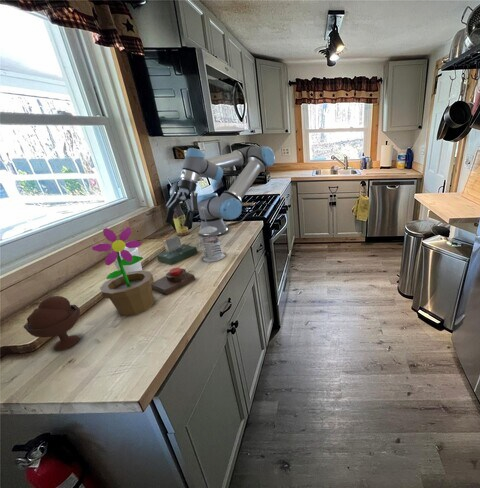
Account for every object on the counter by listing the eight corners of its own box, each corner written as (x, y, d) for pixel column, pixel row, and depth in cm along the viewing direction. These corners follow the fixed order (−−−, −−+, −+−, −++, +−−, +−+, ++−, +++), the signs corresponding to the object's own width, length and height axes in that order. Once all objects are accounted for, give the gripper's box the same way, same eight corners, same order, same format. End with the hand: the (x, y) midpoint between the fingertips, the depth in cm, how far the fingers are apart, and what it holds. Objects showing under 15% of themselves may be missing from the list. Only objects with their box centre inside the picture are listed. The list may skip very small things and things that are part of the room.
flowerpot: (124, 325, 81) (86, 236, 69) (103, 312, 87) (64, 228, 75) (169, 300, 92) (142, 220, 80) (146, 290, 99) (119, 215, 87)
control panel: (184, 249, 134) (182, 243, 133) (198, 252, 129) (196, 247, 128) (157, 260, 123) (155, 254, 121) (171, 264, 118) (169, 258, 117)
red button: (177, 270, 105) (176, 266, 105) (184, 272, 103) (182, 268, 103) (168, 274, 102) (167, 271, 101) (174, 277, 100) (173, 273, 100)
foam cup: (152, 275, 109) (143, 247, 104) (131, 286, 101) (120, 257, 96) (136, 272, 112) (126, 245, 107) (115, 283, 104) (103, 254, 99)
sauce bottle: (184, 236, 151) (175, 203, 143) (175, 236, 152) (165, 203, 144) (191, 232, 157) (183, 200, 149) (182, 232, 158) (174, 200, 150)
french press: (229, 254, 126) (219, 204, 116) (210, 265, 117) (197, 211, 107) (214, 251, 130) (203, 202, 120) (195, 261, 120) (181, 209, 110)
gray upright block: (179, 248, 127) (175, 235, 124) (182, 249, 126) (178, 235, 123) (167, 253, 122) (162, 239, 119) (169, 254, 121) (165, 240, 118)
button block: (179, 274, 110) (177, 266, 108) (195, 279, 105) (193, 270, 104) (151, 288, 100) (148, 279, 98) (167, 294, 96) (164, 285, 94)
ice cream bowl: (62, 331, 79) (39, 290, 73) (100, 328, 80) (80, 287, 74) (29, 359, 69) (-1, 314, 63) (73, 356, 70) (47, 311, 64)
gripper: (164, 176, 124) (153, 219, 123) (199, 179, 113) (187, 226, 112) (179, 182, 131) (168, 223, 129) (213, 185, 120) (202, 230, 118)
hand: (177, 224), depth 121 cm, fingers open, 13 cm apart
